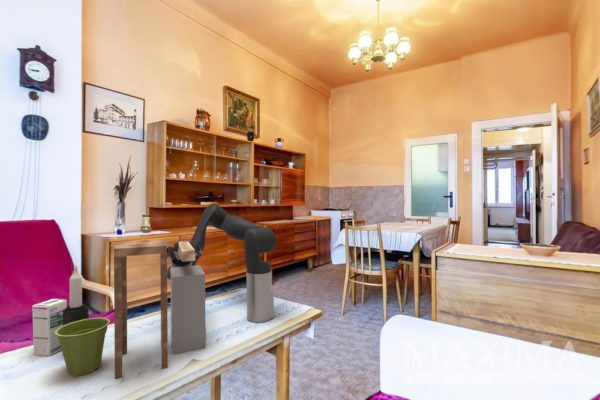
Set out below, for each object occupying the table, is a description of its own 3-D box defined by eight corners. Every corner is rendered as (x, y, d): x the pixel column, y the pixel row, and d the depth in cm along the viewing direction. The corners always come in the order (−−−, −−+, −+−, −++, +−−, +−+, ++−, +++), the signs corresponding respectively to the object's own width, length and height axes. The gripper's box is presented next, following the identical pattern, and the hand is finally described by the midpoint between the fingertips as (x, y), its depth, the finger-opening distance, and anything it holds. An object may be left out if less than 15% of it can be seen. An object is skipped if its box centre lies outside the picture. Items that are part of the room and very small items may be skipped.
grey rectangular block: (199, 330, 105) (199, 265, 105) (205, 348, 92) (205, 273, 92) (171, 335, 101) (170, 267, 101) (172, 354, 88) (172, 277, 88)
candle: (90, 349, 92) (90, 265, 92) (72, 357, 87) (71, 268, 87) (80, 346, 94) (79, 263, 94) (61, 354, 89) (60, 267, 89)
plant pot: (96, 353, 89) (95, 314, 89) (119, 364, 83) (119, 322, 83) (46, 373, 79) (45, 329, 79) (68, 387, 73) (68, 339, 73)
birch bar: (188, 249, 112) (188, 241, 112) (195, 260, 90) (195, 250, 90) (177, 250, 111) (177, 242, 111) (182, 261, 89) (181, 251, 89)
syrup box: (49, 356, 88) (48, 305, 88) (32, 354, 89) (32, 304, 89) (68, 347, 93) (67, 299, 93) (52, 345, 95) (51, 298, 95)
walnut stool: (166, 343, 95) (165, 239, 95) (167, 367, 81) (166, 245, 81) (121, 352, 90) (120, 241, 90) (114, 379, 76) (113, 248, 76)
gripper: (161, 253, 117) (161, 234, 103) (200, 250, 123) (205, 232, 109) (161, 272, 114) (161, 256, 100) (201, 269, 120) (206, 252, 106)
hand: (184, 244), depth 105 cm, fingers closed on birch bar, 3 cm apart
